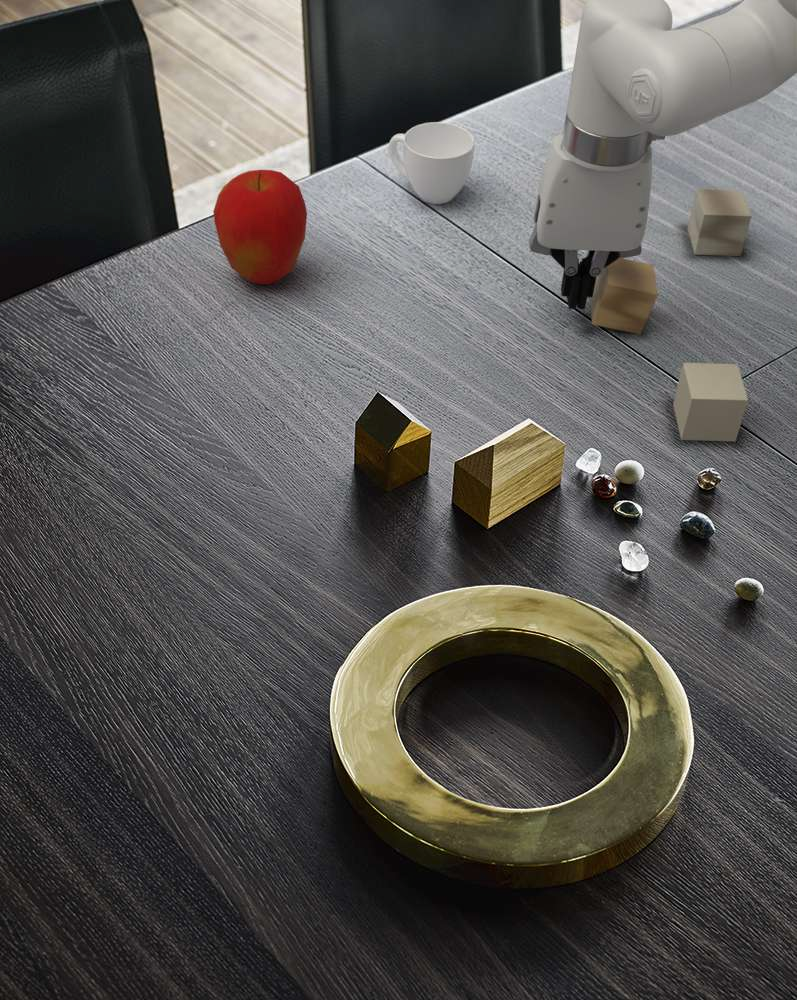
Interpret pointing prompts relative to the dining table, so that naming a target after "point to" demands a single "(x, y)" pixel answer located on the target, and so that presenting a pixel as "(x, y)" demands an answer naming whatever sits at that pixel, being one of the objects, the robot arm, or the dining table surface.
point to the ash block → (719, 222)
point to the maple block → (624, 295)
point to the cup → (434, 159)
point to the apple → (261, 224)
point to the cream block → (710, 402)
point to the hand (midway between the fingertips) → (575, 300)
